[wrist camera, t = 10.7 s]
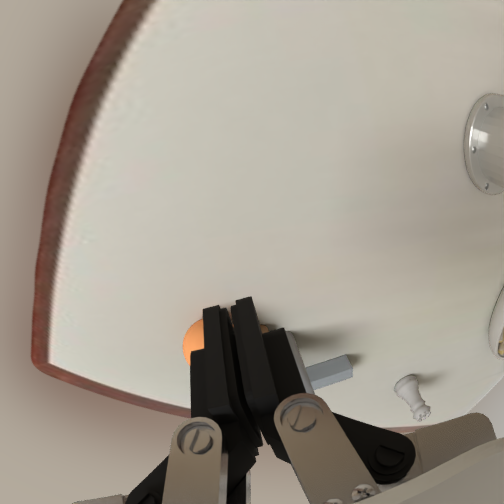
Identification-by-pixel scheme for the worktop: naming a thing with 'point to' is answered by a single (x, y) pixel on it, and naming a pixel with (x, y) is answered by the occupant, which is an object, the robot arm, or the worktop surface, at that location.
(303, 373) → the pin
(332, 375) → the grey rectangular bar
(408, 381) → the rook chess piece
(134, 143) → the worktop surface
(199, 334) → the ball
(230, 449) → the robot arm
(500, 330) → the bowl
